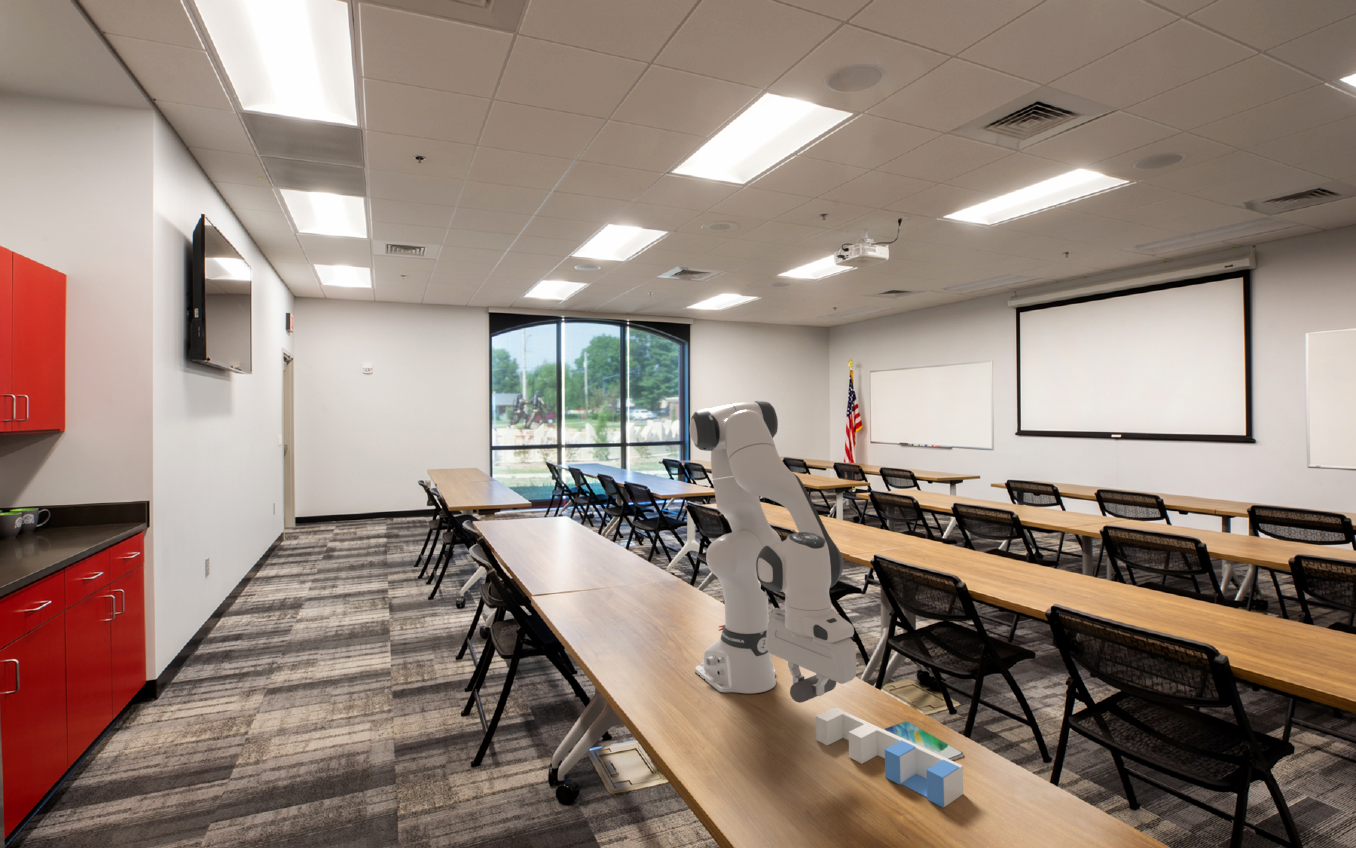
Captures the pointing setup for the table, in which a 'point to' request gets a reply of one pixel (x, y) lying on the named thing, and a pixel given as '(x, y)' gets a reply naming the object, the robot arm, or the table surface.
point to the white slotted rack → (894, 756)
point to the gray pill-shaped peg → (808, 689)
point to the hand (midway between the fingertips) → (808, 689)
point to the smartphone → (924, 740)
